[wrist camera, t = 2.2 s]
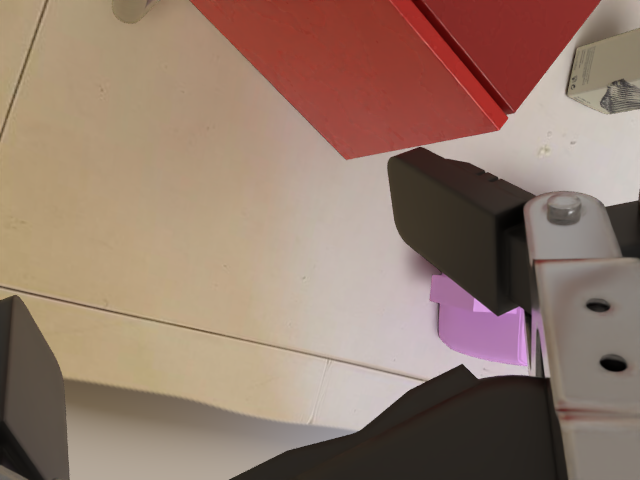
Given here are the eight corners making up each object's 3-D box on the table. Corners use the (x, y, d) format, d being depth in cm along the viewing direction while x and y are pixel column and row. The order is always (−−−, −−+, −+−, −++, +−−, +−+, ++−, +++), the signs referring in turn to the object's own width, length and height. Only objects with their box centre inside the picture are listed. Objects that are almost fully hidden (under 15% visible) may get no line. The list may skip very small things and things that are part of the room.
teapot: (591, 228, 49) (711, 233, 39) (580, 350, 49) (697, 384, 40) (409, 211, 42) (501, 212, 33) (397, 352, 42) (485, 394, 33)
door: (298, 216, 39) (428, 222, 24) (86, 18, 33) (80, -139, 18) (353, 151, 40) (509, 118, 25) (157, -50, 35) (205, -250, 20)
